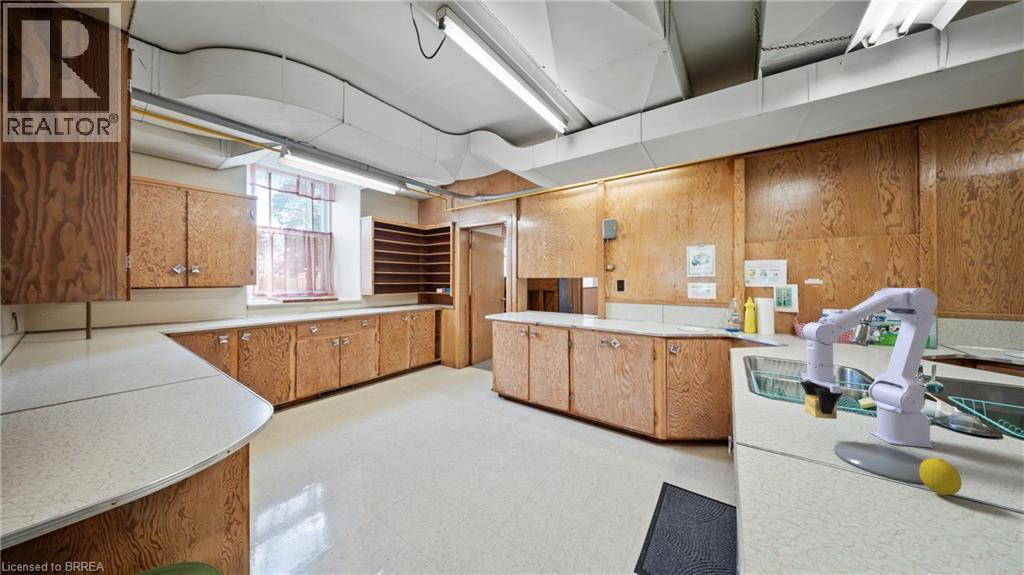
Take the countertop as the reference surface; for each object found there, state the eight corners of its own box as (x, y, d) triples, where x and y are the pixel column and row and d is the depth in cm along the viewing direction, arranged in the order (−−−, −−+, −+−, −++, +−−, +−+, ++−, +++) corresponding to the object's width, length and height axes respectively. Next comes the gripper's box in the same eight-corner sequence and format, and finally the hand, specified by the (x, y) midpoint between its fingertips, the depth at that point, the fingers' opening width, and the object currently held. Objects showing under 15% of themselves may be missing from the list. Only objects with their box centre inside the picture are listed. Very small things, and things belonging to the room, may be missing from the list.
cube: (825, 412, 98) (825, 395, 98) (836, 419, 94) (836, 401, 94) (805, 411, 100) (804, 394, 100) (815, 417, 95) (815, 400, 95)
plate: (898, 449, 90) (898, 446, 90) (969, 489, 72) (969, 484, 72) (818, 442, 94) (818, 438, 94) (866, 478, 77) (866, 473, 77)
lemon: (971, 505, 67) (970, 466, 67) (937, 502, 68) (937, 463, 68) (941, 488, 73) (941, 452, 73) (911, 486, 74) (910, 450, 74)
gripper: (790, 357, 105) (790, 400, 105) (818, 369, 91) (819, 418, 91) (817, 358, 103) (817, 402, 103) (850, 370, 89) (851, 420, 89)
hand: (820, 410), depth 97 cm, fingers closed on cube, 5 cm apart
